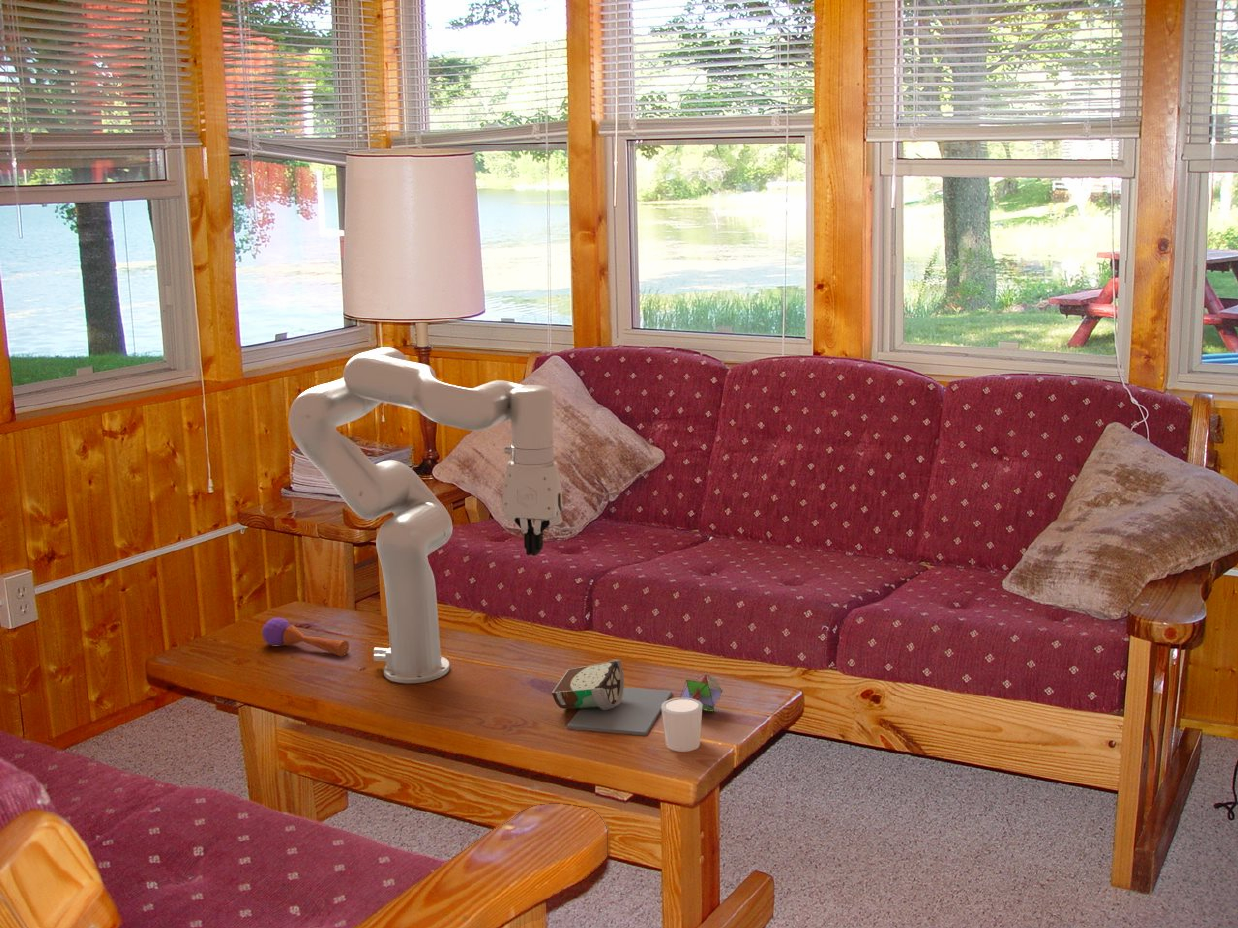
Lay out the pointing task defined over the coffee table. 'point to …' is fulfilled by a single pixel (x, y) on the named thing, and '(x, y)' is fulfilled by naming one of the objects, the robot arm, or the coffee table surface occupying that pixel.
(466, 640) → the coffee table surface
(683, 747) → the shot glass
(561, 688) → the food container
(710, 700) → the geometric puzzle
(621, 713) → the mat
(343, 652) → the kendama
